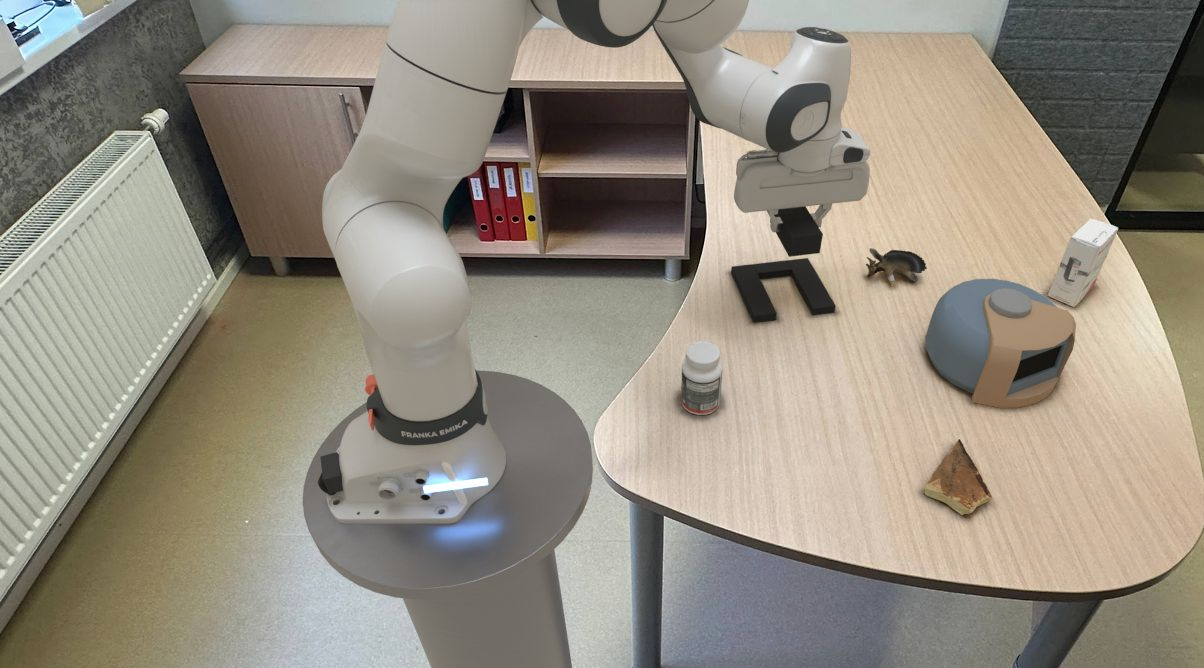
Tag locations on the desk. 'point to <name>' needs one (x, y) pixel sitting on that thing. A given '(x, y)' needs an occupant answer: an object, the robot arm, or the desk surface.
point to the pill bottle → (701, 378)
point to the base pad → (797, 269)
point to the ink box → (1082, 261)
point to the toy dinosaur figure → (896, 264)
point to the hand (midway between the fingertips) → (795, 228)
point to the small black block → (799, 232)
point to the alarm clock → (1000, 342)
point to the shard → (958, 482)
